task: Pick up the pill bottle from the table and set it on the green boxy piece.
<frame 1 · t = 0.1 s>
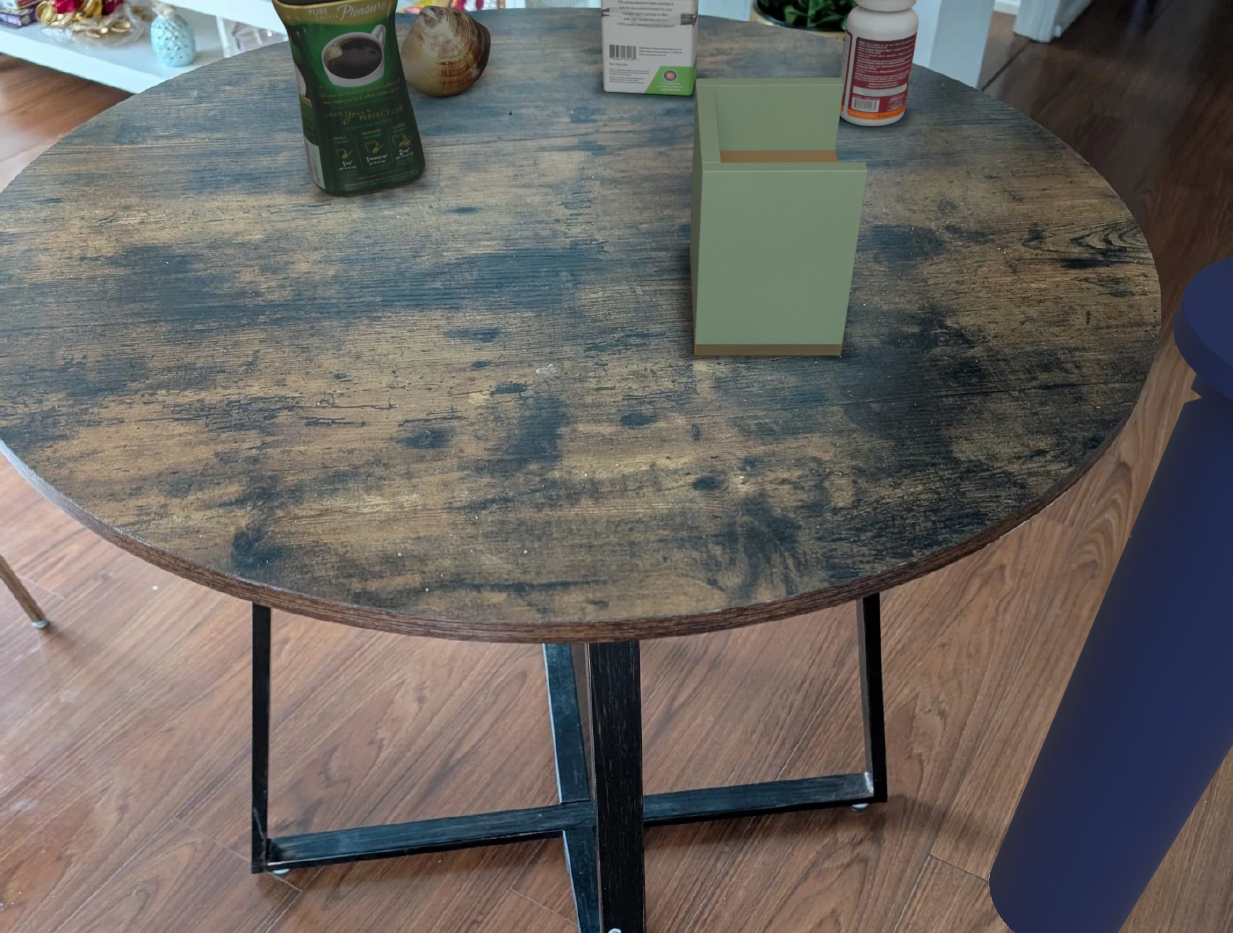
pill bottle: (869, 116, 106), on the table
green boxy piece: (760, 301, 84), on the table
coffee jar: (368, 178, 99), on the table
ink box: (650, 86, 111), on the table
seashell: (450, 96, 110), on the table
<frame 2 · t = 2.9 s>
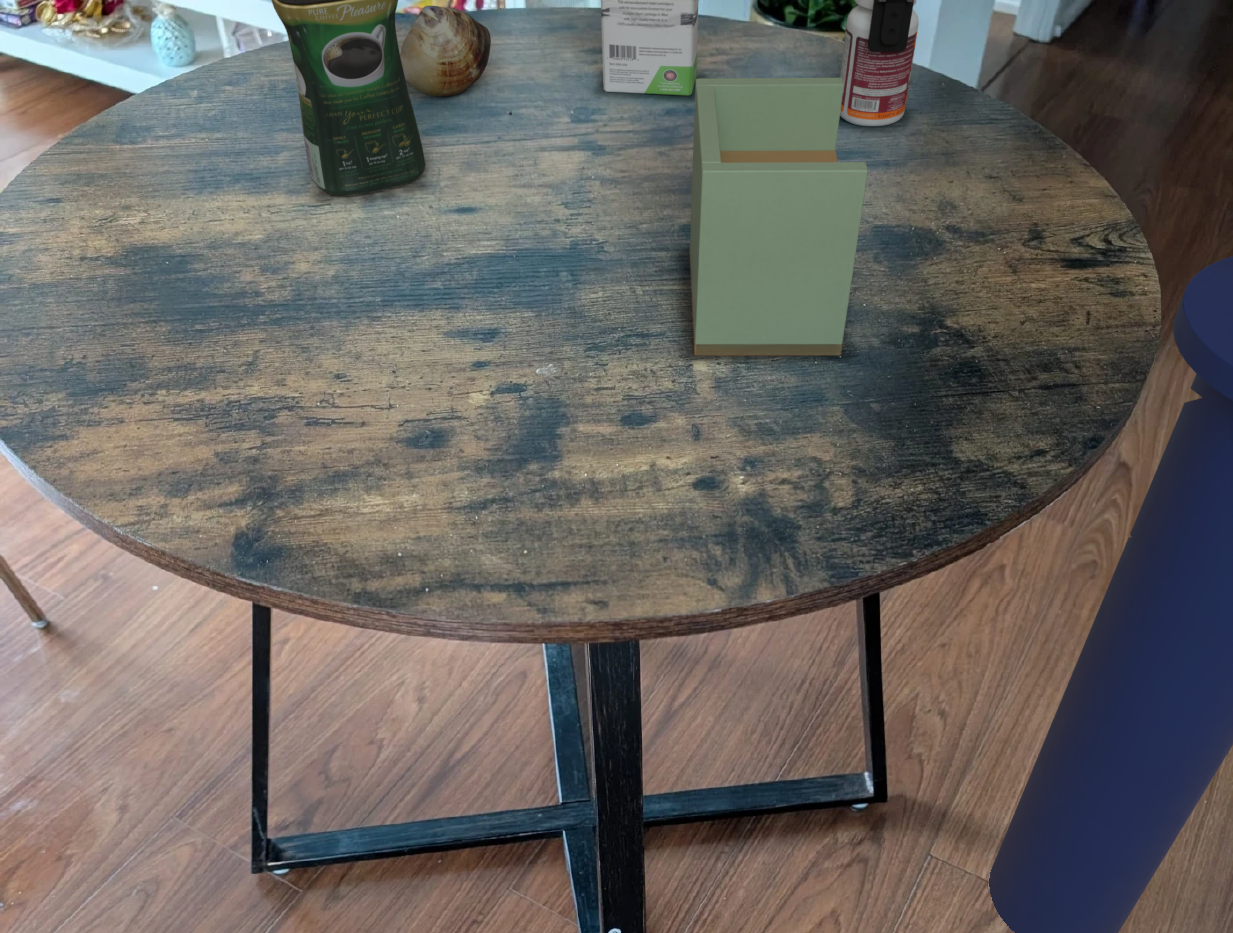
hand: (881, 32, 101), 7 cm above the table, tool pointing down, fingers closed on pill bottle, 6 cm apart
pill bottle: (868, 116, 106), on the table, touching gripper
everything else where it was.
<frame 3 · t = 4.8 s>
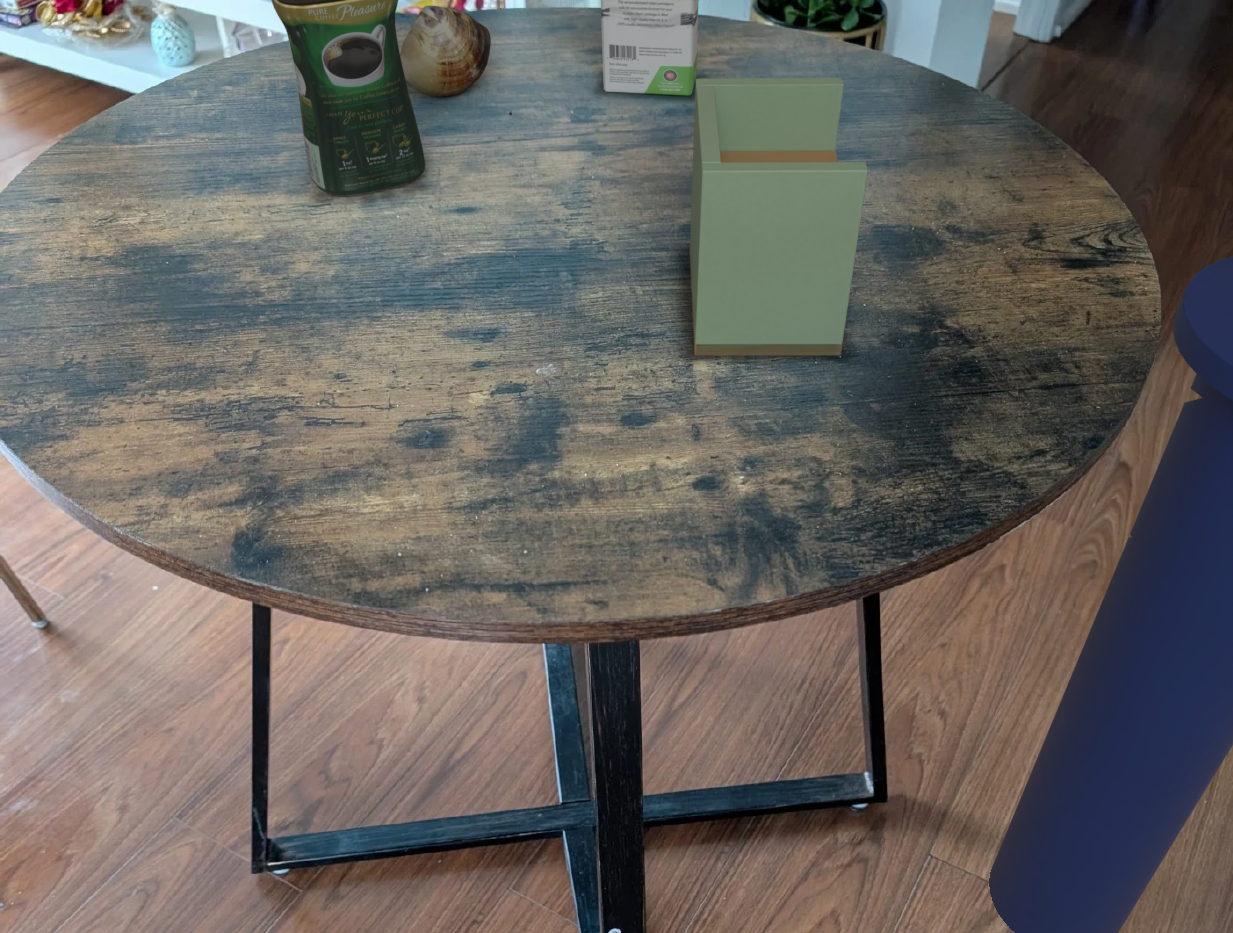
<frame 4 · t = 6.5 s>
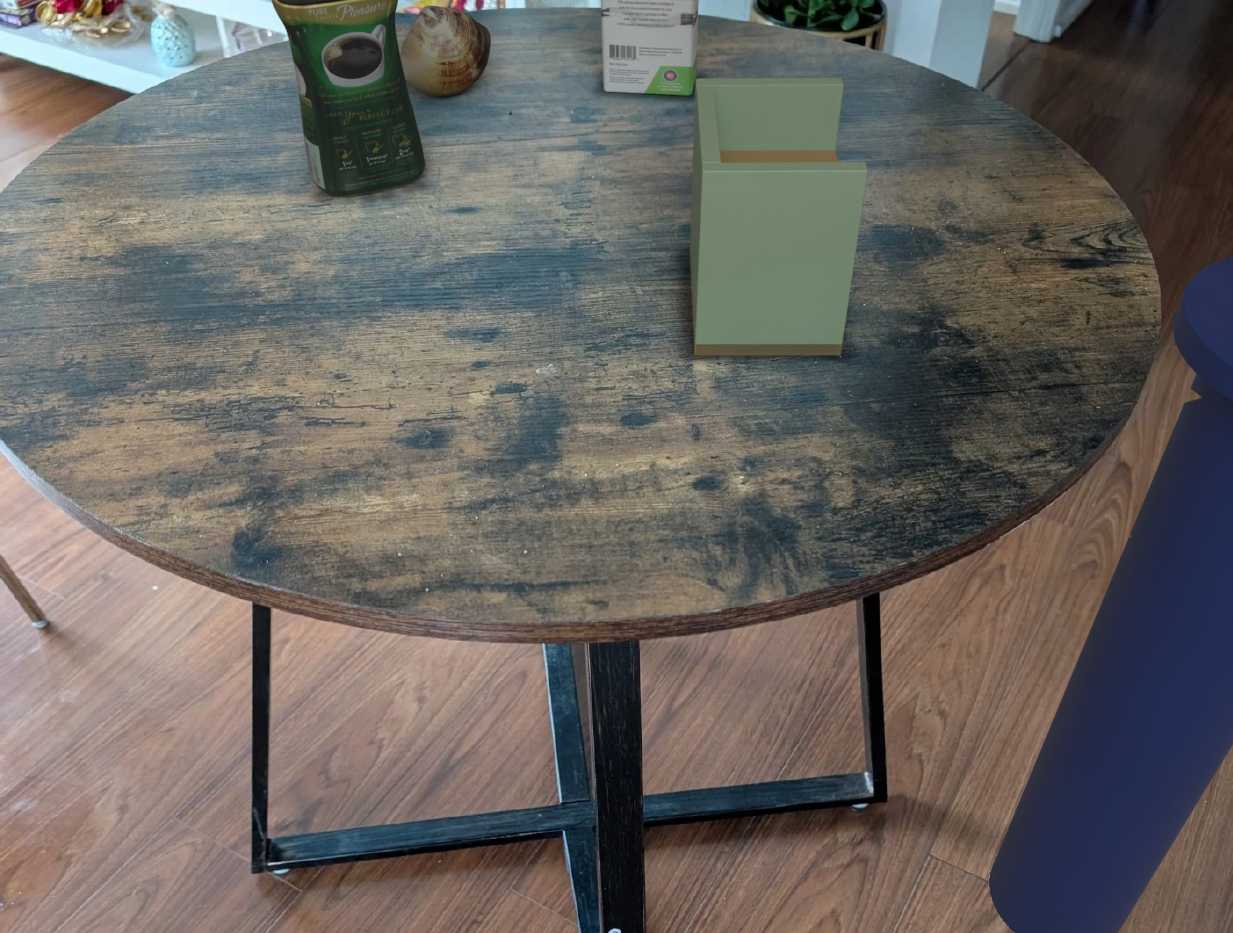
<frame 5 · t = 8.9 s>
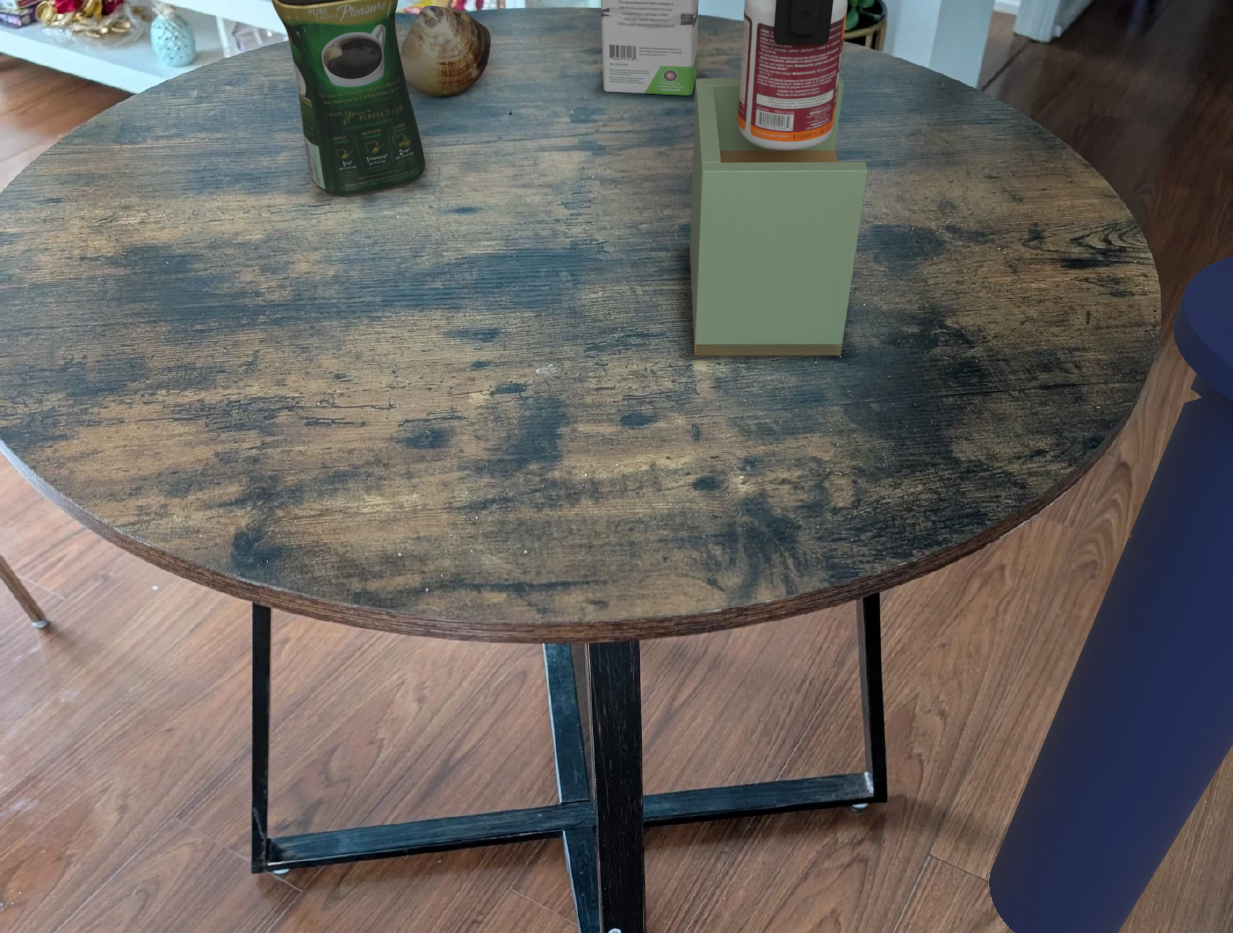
hand: (795, 17, 70), 19 cm above the table, tool pointing down, fingers closed on pill bottle, 6 cm apart
pill bottle: (783, 136, 75), point 12 cm above the table, touching gripper
everything else where it was.
when the fingers open (16 cm above the table, at t = 10.5 s): pill bottle stays where it is, resting on green boxy piece.
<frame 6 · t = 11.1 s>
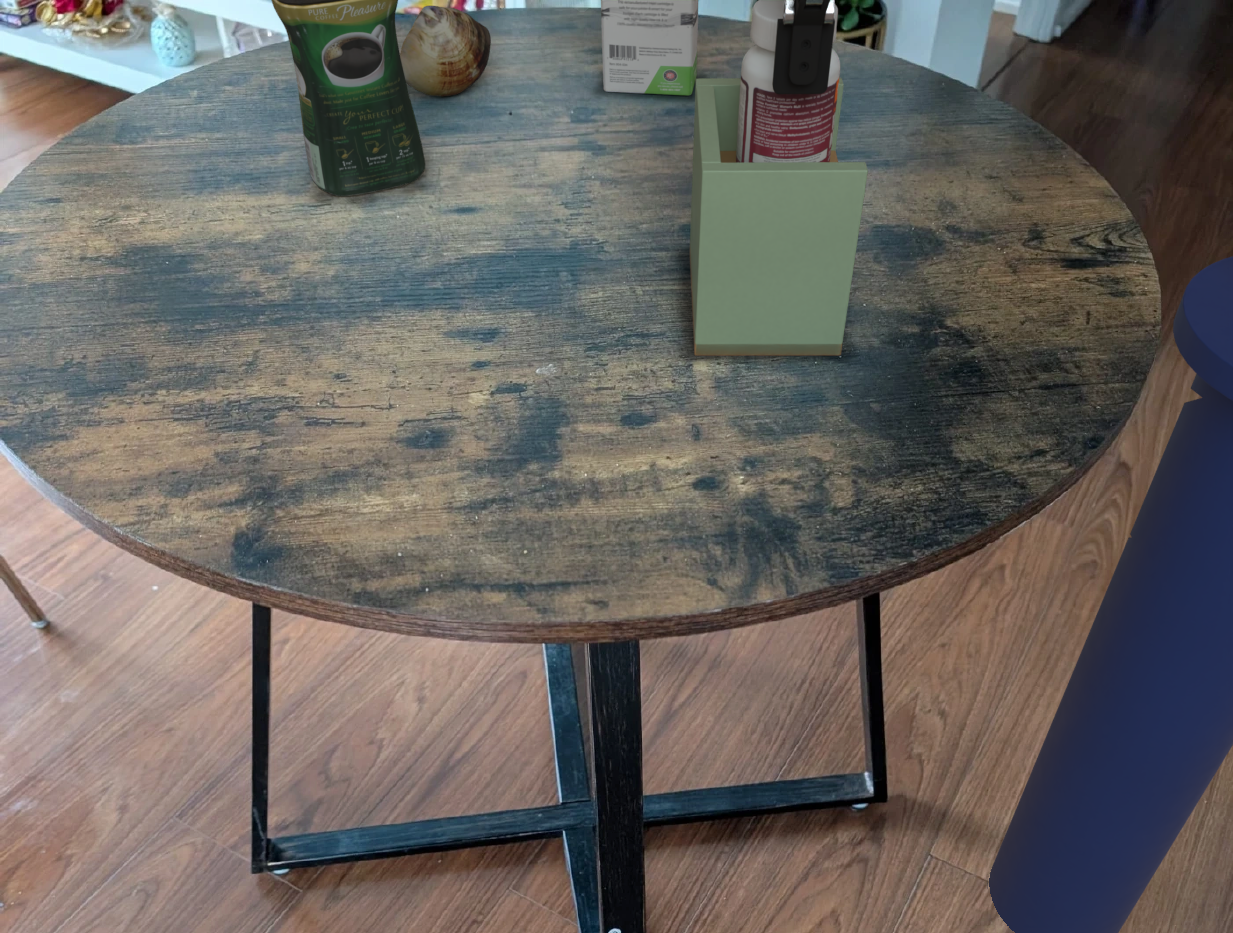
hand: (792, 59, 72), 17 cm above the table, tool pointing down, fingers open, 9 cm apart
pill bottle: (779, 191, 78), point 8 cm above the table, touching green boxy piece
everything else where it was.
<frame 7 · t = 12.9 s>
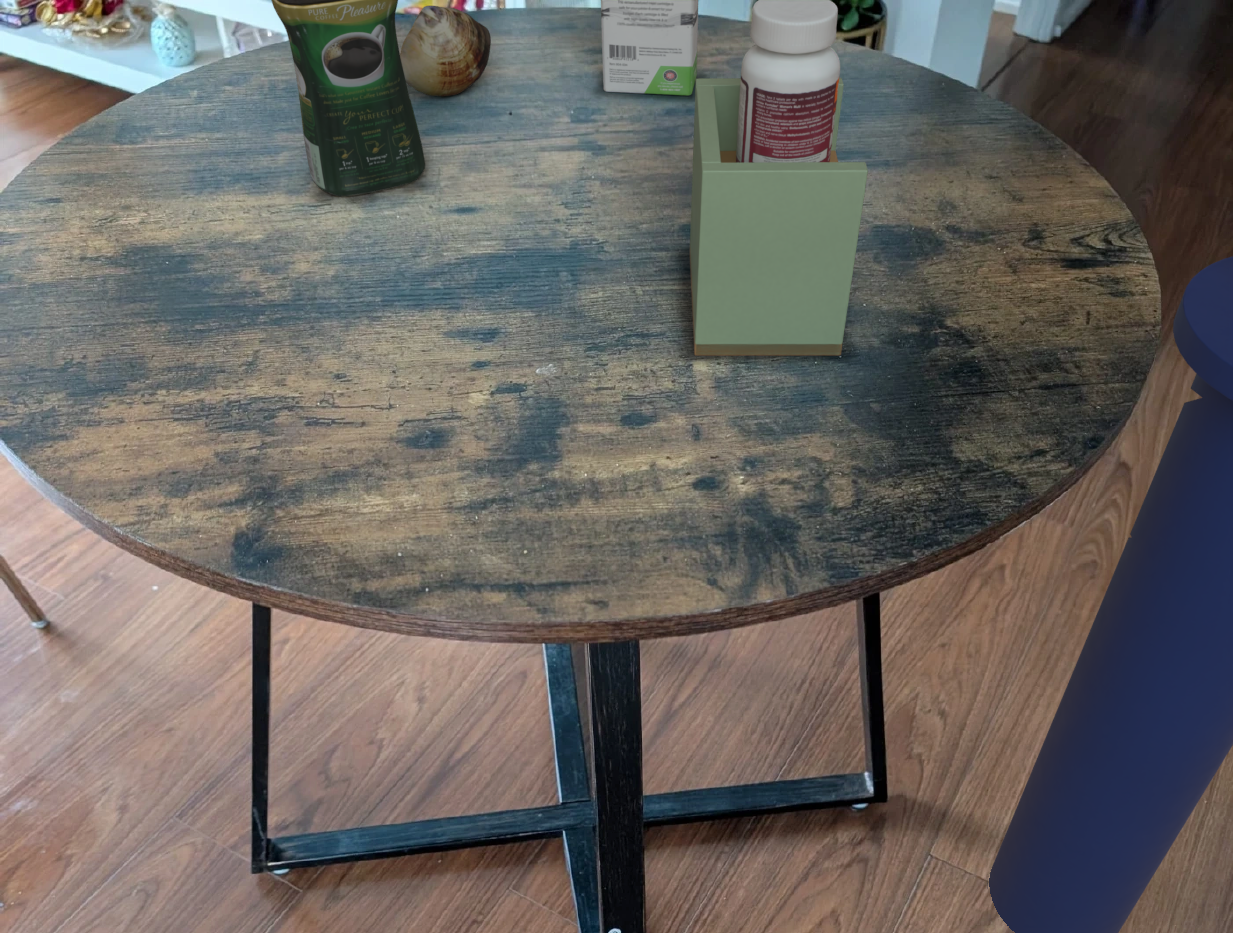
nothing on the table moved.
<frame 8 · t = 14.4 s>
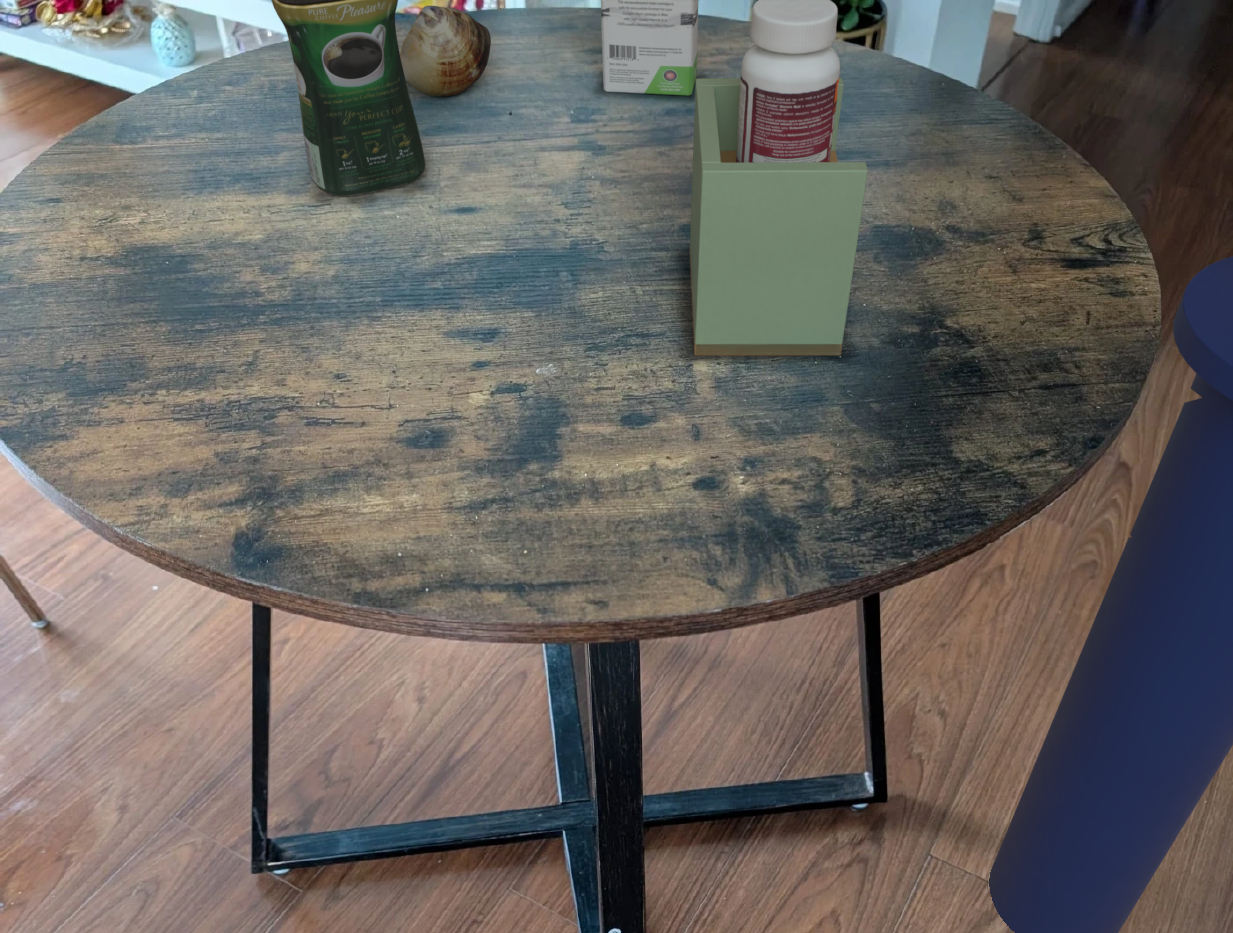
nothing on the table moved.
at the end: pill bottle inside the target area on the green boxy piece (0.0 cm from its centre), point 8.3 cm above the green boxy piece's base; pill bottle tilted 0°; the gripper is holding nothing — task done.
